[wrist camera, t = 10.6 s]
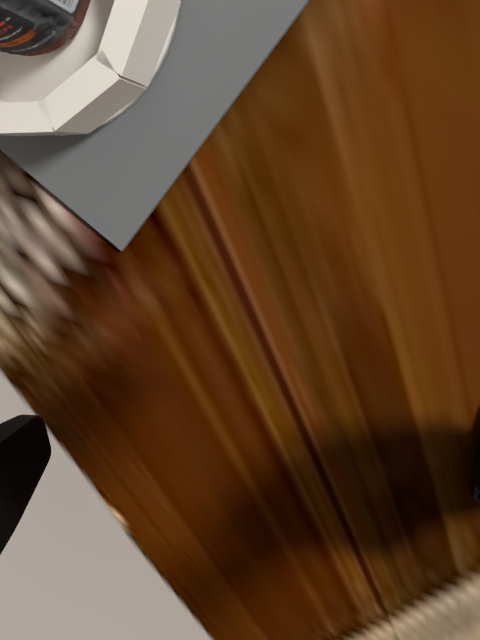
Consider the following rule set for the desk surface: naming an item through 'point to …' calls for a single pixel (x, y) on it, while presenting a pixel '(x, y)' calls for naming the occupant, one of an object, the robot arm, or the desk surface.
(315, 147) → the desk surface
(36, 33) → the supplement bottle
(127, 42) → the bowl
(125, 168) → the mat
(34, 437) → the robot arm
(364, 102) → the desk surface
